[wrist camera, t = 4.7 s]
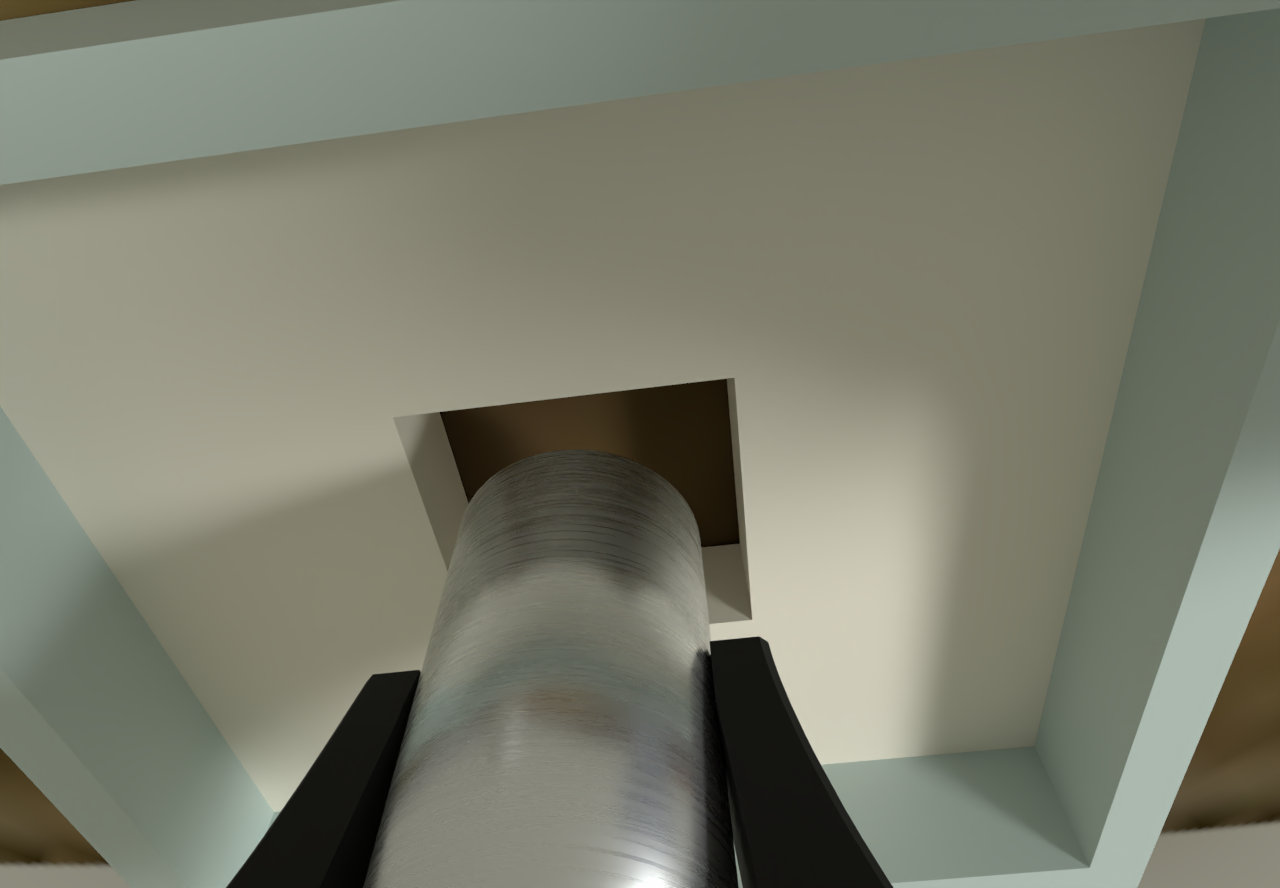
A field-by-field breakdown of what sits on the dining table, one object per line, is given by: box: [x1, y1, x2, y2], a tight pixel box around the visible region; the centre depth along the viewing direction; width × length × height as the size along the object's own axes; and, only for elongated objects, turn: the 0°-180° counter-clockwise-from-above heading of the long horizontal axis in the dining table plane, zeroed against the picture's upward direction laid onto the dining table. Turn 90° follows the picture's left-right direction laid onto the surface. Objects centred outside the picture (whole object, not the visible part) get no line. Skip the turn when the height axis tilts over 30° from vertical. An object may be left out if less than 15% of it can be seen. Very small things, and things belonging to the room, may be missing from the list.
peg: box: [363, 449, 739, 888], centre depth 10 cm, size 4×4×7 cm
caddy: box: [0, 0, 1280, 888], centre depth 13 cm, size 18×16×4 cm
